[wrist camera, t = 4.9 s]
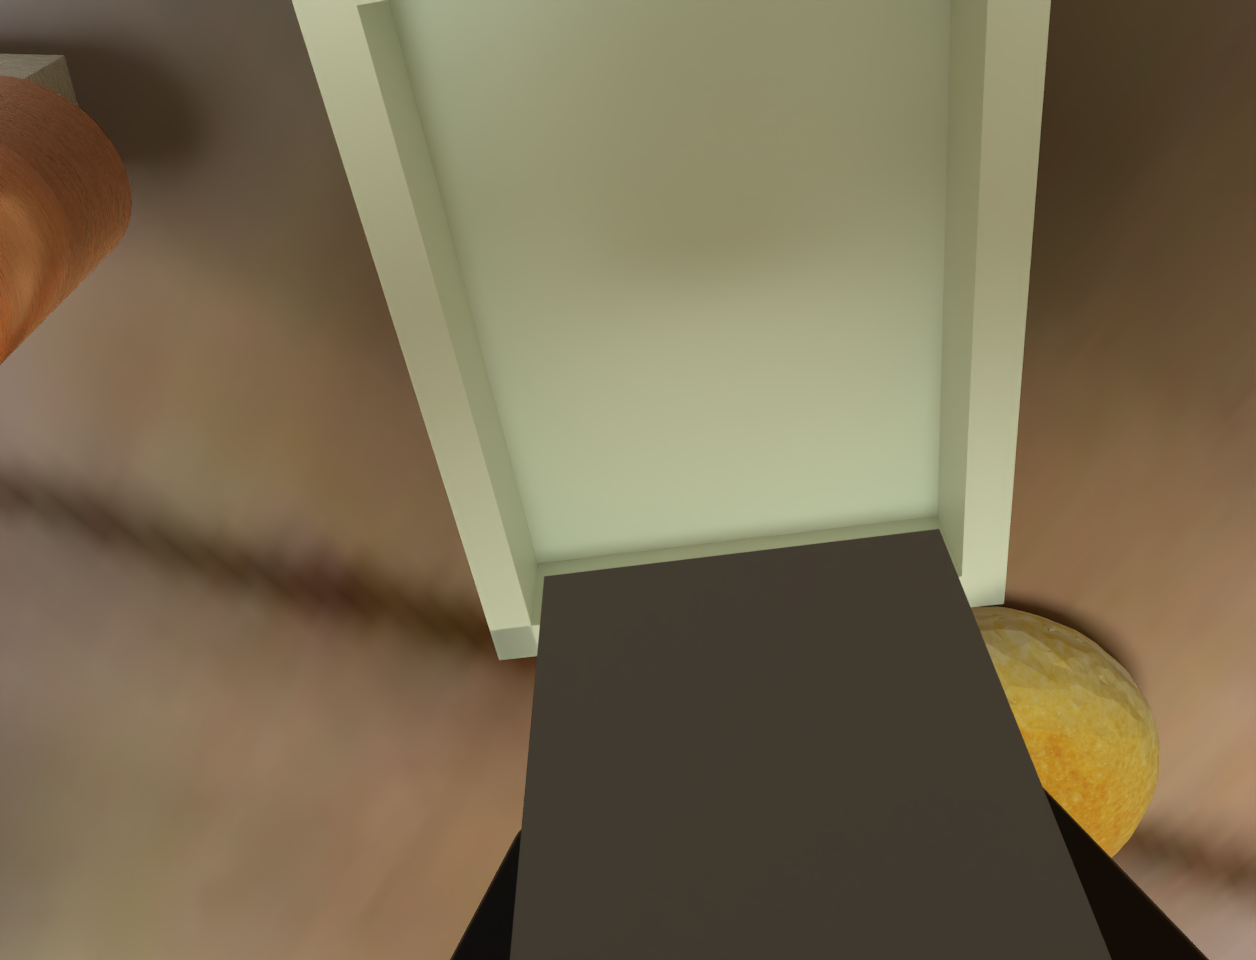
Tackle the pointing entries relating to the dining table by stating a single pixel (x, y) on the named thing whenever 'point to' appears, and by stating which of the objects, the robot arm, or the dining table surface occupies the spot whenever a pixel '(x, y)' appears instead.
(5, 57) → the crank
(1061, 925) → the dark gray rectangular block
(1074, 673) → the bread roll
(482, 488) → the tray
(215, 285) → the dining table surface
